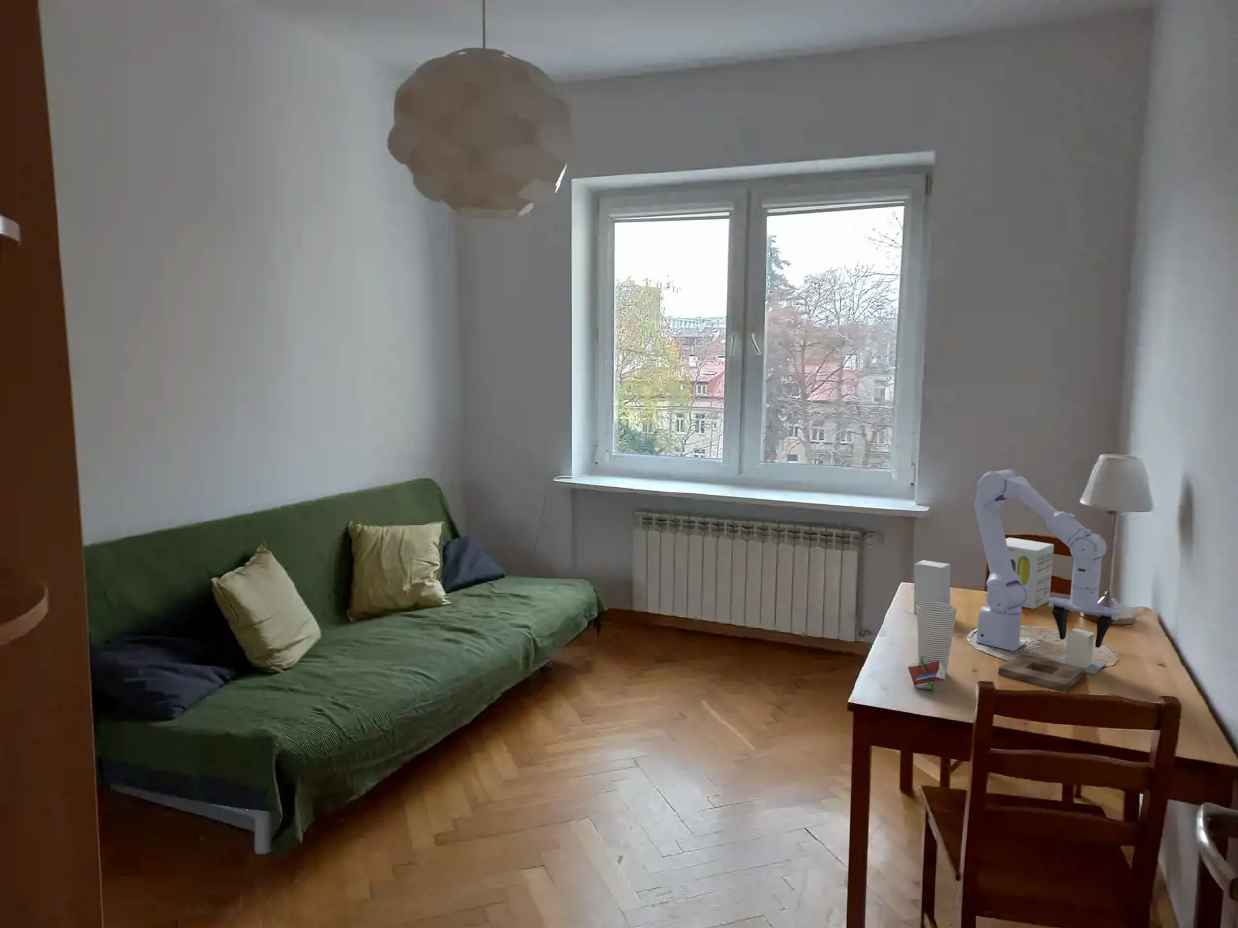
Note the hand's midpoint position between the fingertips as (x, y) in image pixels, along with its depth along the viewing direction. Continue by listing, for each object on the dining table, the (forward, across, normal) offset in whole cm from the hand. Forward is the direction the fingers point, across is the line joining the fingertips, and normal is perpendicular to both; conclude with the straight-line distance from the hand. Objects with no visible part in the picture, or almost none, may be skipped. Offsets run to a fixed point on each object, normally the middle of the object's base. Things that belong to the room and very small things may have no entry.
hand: (1080, 642), depth 199 cm
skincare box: (+6, -42, +13) cm, 44 cm away
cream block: (+5, 0, 0) cm, 5 cm away
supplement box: (+6, -30, +47) cm, 56 cm away
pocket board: (+6, -4, -13) cm, 15 cm away
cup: (+6, -22, -30) cm, 38 cm away
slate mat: (+6, 0, 0) cm, 6 cm away
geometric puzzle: (+6, -19, -40) cm, 45 cm away
